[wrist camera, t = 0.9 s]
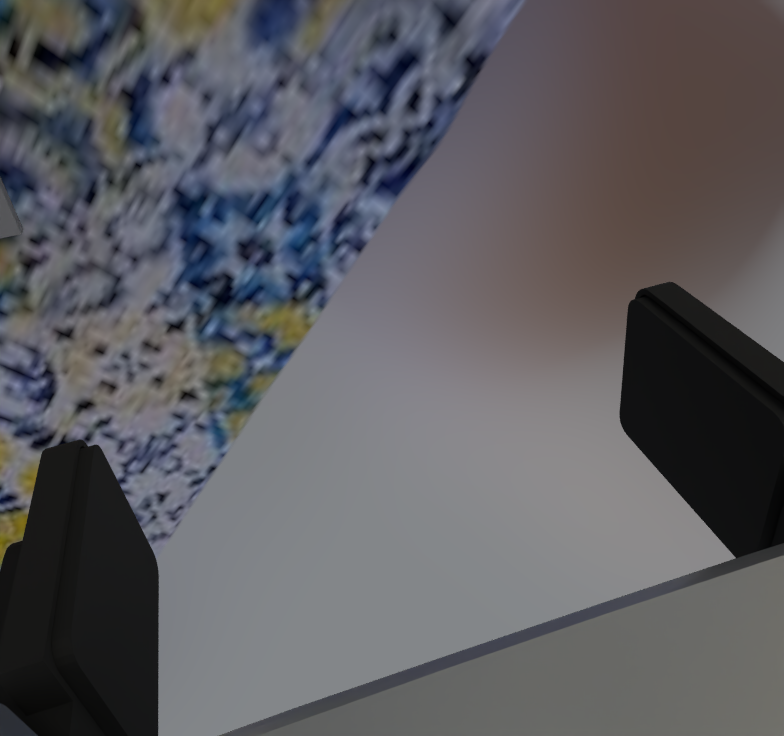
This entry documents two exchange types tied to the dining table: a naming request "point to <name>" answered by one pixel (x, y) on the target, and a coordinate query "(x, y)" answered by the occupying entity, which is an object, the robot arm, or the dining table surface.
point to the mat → (8, 215)
